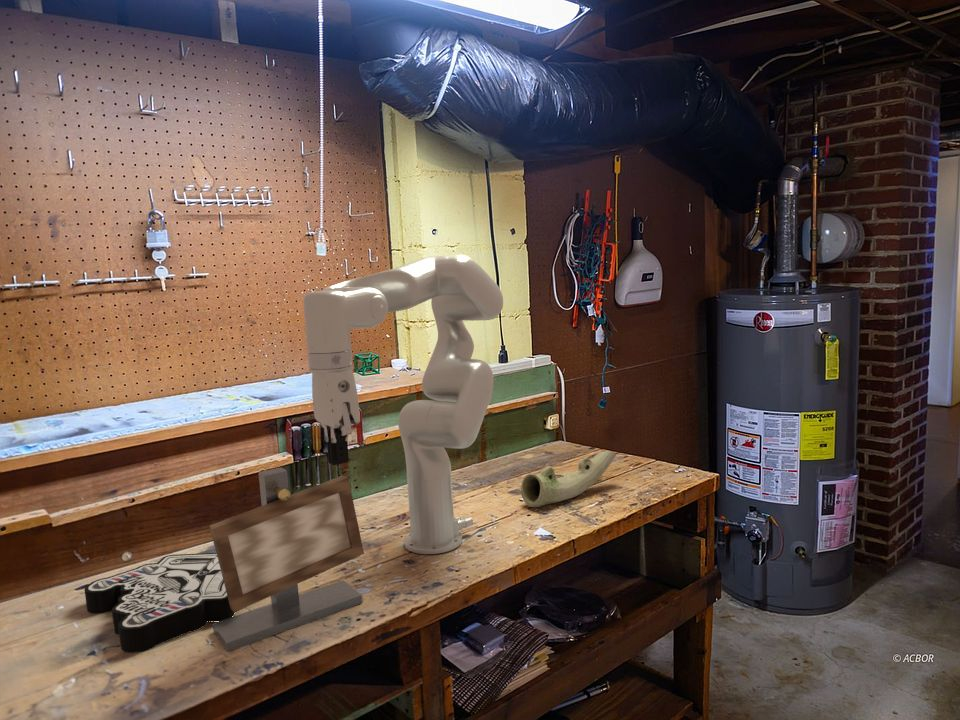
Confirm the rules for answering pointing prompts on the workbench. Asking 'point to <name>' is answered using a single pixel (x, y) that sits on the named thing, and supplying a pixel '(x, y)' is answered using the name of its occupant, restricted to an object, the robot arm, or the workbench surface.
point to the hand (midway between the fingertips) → (338, 462)
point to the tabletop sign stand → (283, 592)
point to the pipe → (564, 481)
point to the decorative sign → (161, 599)
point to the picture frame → (286, 542)
